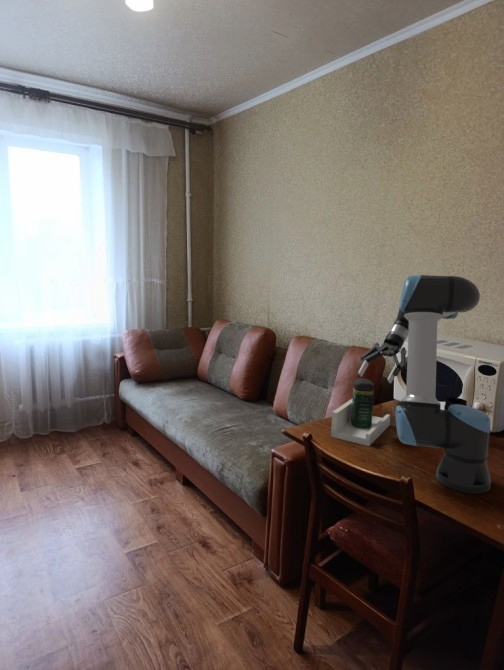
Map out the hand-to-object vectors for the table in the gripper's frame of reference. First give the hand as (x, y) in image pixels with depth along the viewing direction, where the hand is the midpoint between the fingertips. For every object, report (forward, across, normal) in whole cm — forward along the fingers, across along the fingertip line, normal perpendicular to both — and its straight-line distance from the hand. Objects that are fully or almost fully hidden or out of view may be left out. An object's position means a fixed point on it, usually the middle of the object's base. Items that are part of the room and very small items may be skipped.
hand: (374, 377), depth 176 cm
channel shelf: (+20, -1, -9) cm, 22 cm away
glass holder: (+4, -30, -25) cm, 39 cm away
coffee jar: (+18, 0, -7) cm, 20 cm away
